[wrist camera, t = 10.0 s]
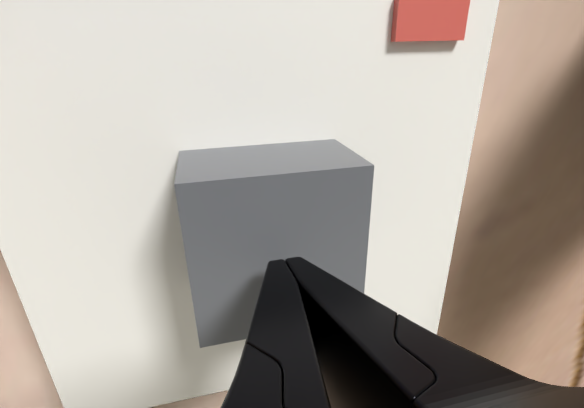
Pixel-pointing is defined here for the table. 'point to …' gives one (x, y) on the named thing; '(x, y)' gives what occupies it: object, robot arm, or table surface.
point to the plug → (267, 222)
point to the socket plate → (214, 134)
